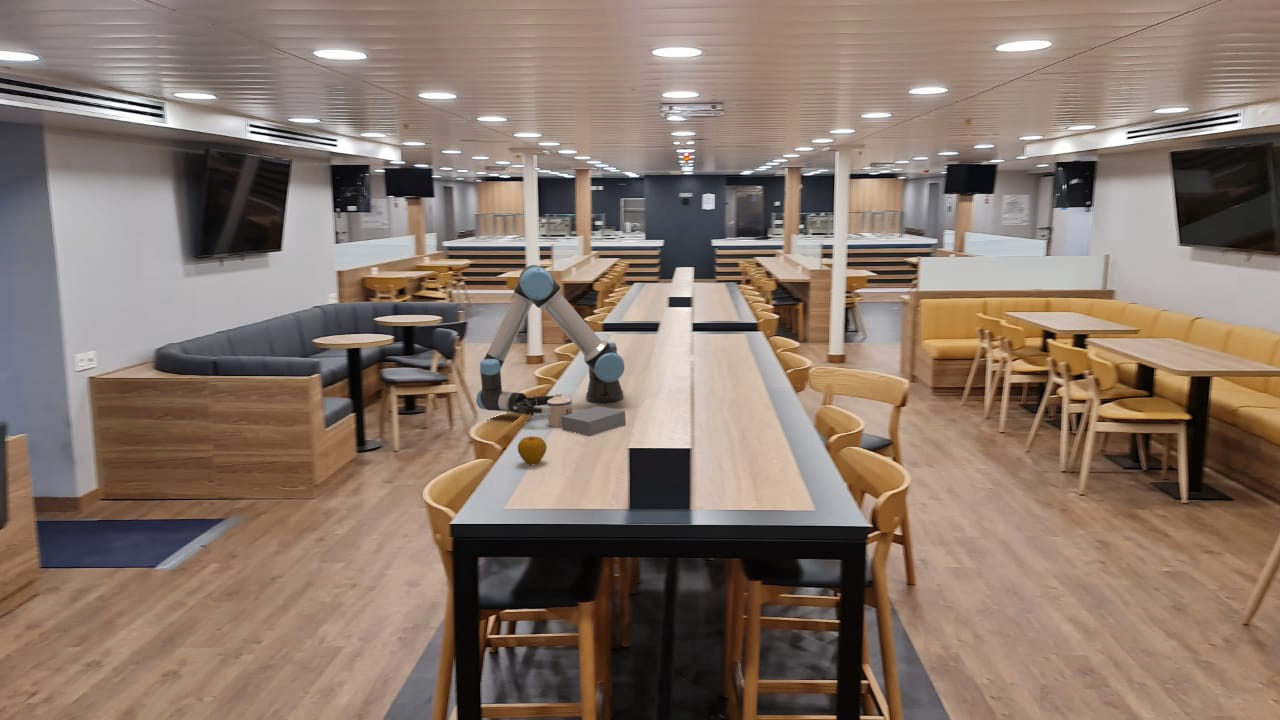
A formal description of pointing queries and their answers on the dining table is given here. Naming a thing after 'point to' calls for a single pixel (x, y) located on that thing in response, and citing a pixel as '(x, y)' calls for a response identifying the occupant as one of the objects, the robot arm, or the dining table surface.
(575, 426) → the charcoal rectangular block
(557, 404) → the teacup with lid
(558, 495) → the dining table surface
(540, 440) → the apple
